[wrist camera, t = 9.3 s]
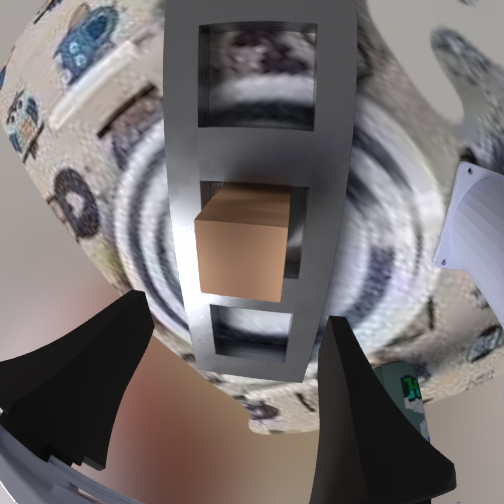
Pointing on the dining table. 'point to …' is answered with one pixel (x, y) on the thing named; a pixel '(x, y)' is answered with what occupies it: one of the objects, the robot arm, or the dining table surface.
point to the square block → (243, 241)
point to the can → (405, 392)
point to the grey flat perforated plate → (259, 168)
